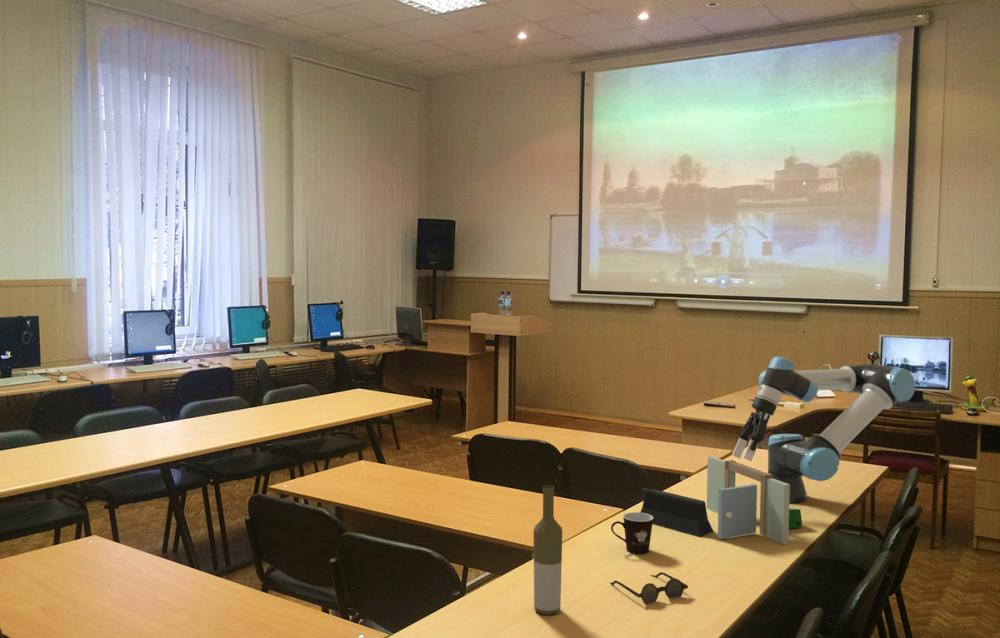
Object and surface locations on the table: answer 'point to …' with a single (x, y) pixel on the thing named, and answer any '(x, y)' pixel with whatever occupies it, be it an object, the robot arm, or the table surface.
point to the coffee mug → (636, 532)
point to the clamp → (795, 518)
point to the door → (737, 511)
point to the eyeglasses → (658, 589)
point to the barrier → (677, 512)
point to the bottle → (547, 558)
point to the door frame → (771, 498)
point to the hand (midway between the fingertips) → (741, 458)
